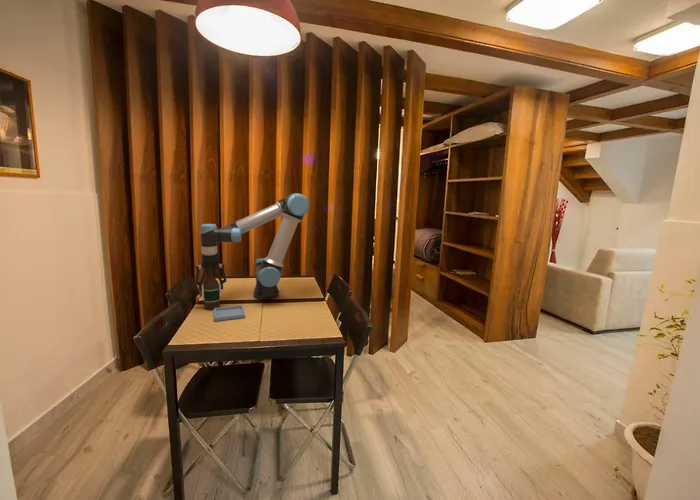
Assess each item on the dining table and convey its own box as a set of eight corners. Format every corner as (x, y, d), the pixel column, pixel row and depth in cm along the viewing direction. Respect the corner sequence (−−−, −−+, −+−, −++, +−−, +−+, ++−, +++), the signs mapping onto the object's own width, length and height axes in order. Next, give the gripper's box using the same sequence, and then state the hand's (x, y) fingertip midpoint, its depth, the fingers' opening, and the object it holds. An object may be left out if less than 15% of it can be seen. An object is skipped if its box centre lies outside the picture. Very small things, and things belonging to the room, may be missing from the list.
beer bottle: (214, 311, 162) (212, 266, 158) (201, 309, 164) (198, 265, 159) (223, 306, 170) (221, 263, 165) (210, 304, 171) (208, 262, 167)
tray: (242, 308, 167) (242, 304, 167) (245, 318, 154) (245, 314, 154) (214, 311, 162) (214, 307, 161) (214, 321, 149) (214, 317, 149)
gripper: (230, 251, 169) (232, 292, 173) (188, 253, 161) (190, 295, 165) (231, 254, 162) (232, 296, 166) (186, 256, 154) (189, 300, 158)
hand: (211, 295), depth 165 cm, fingers closed on beer bottle, 8 cm apart
